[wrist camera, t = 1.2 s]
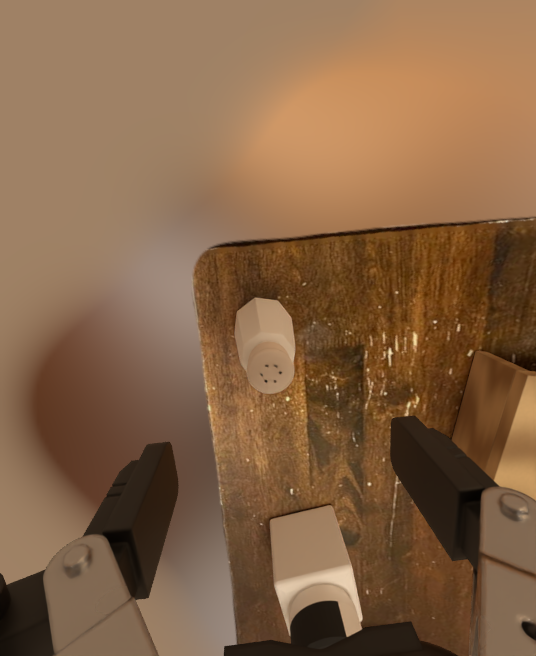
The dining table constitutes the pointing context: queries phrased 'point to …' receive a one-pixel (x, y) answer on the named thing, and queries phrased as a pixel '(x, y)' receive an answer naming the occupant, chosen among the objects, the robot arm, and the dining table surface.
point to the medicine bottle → (314, 578)
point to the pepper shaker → (265, 344)
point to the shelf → (500, 422)
